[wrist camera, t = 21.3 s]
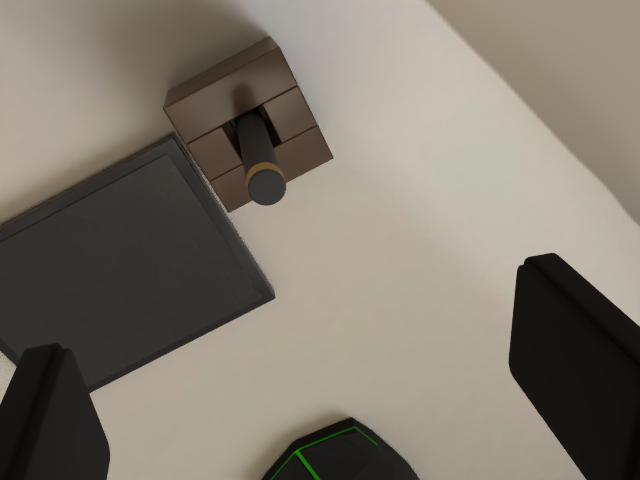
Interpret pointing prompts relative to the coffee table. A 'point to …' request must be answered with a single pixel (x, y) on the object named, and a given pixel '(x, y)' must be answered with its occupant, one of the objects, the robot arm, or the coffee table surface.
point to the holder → (236, 99)
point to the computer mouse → (341, 456)
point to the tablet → (125, 267)
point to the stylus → (259, 159)
